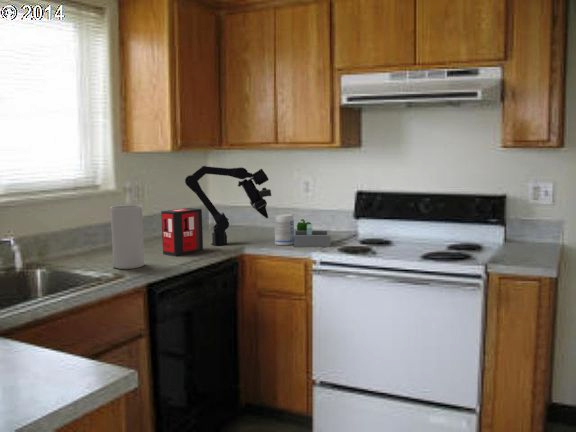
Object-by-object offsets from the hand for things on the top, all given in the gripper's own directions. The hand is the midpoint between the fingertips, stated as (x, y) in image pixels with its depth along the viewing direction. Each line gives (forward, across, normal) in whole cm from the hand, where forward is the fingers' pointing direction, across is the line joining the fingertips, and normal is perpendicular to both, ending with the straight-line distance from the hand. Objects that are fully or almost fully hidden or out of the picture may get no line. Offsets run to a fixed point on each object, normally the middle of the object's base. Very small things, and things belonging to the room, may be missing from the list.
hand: (266, 216), depth 306 cm
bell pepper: (+22, +11, -13) cm, 28 cm away
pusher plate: (+21, -11, -12) cm, 27 cm away
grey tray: (+21, -11, -12) cm, 27 cm away
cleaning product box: (-8, -18, +43) cm, 47 cm away
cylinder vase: (-18, -44, +64) cm, 79 cm away
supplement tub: (+15, -8, -1) cm, 17 cm away
